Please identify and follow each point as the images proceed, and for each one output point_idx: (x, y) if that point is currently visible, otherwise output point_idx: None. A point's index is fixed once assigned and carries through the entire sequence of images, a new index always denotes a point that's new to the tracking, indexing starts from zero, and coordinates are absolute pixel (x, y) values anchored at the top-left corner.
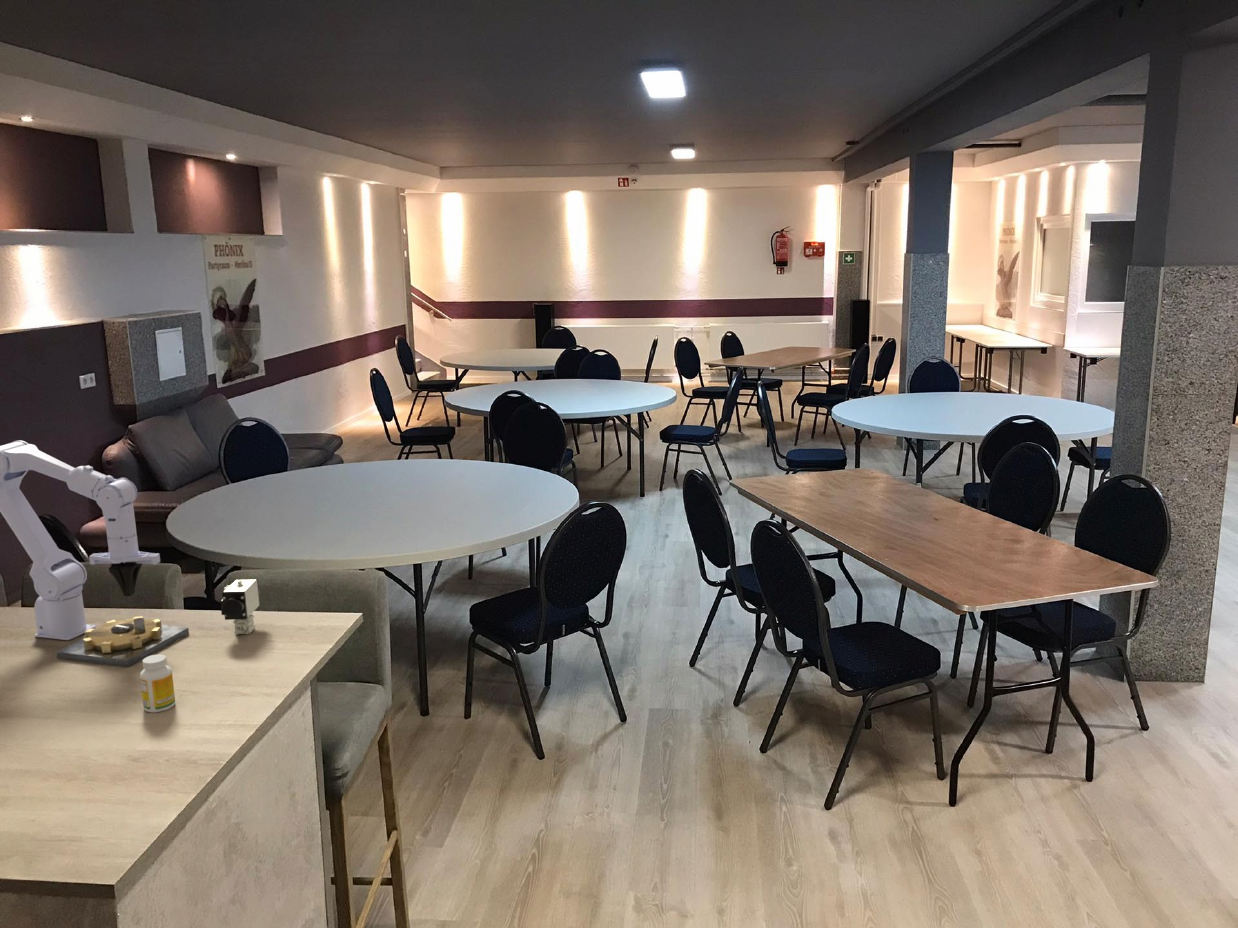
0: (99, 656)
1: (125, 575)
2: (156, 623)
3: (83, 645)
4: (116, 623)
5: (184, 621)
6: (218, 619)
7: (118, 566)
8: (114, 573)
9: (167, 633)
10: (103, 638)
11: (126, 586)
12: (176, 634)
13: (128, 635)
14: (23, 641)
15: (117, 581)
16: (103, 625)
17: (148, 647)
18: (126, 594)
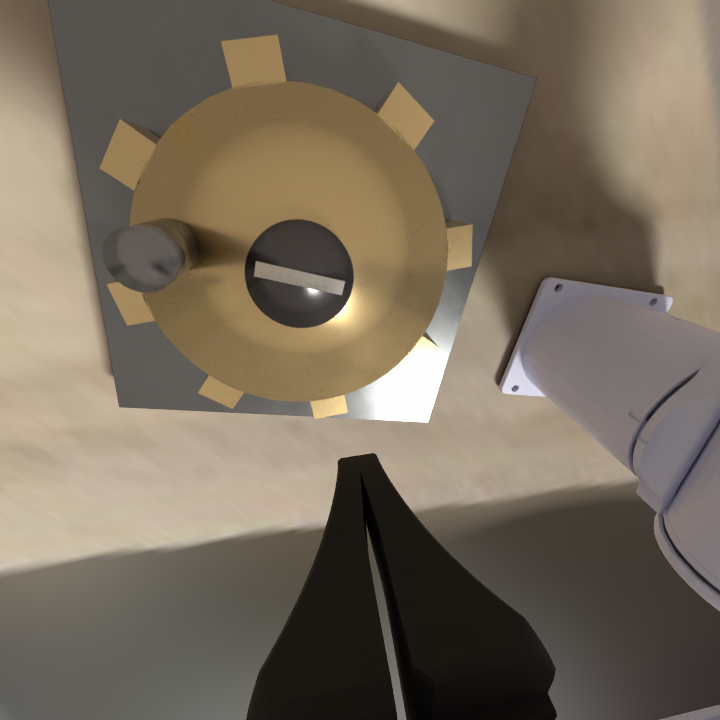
0: (271, 10)
1: (341, 602)
2: (209, 374)
3: (443, 173)
4: (381, 340)
5: (242, 470)
6: (138, 500)
7: (461, 716)
8: (459, 603)
9: (155, 344)
10: (322, 138)
11: (350, 505)
12: (108, 343)
13: (207, 197)
14: (692, 256)
15: (422, 528)
16: (426, 311)
17: (94, 173)
18: (357, 462)
